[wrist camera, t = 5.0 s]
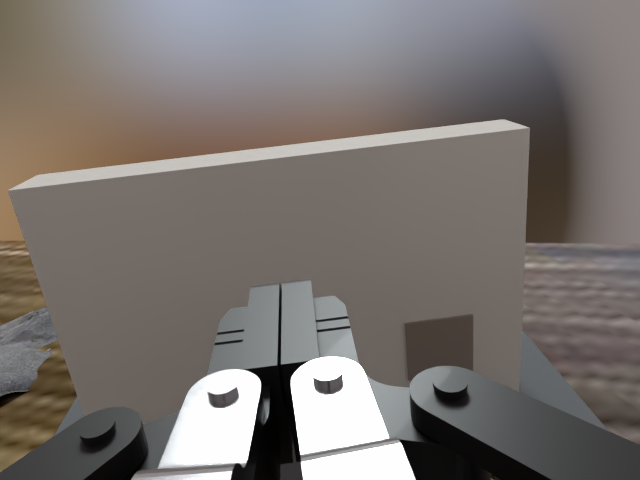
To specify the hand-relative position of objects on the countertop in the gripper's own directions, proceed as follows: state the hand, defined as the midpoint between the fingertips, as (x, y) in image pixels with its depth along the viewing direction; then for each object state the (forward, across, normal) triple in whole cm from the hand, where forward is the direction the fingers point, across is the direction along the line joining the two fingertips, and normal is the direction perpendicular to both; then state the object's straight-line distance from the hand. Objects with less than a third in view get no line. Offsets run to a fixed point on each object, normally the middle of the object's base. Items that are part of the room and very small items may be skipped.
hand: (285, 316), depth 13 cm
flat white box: (+5, 0, +7) cm, 9 cm away
